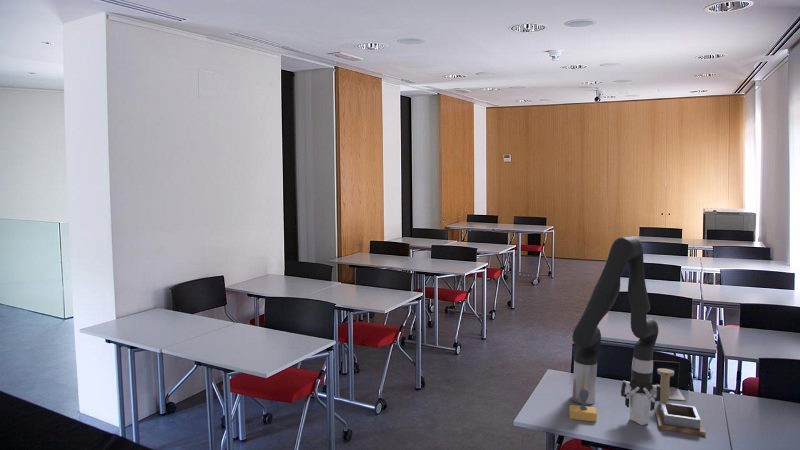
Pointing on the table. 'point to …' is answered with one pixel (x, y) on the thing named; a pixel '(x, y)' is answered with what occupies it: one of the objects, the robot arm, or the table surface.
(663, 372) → the handle
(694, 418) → the socket board
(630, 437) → the table surface
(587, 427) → the table surface
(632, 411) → the skincare box
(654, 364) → the laptop
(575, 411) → the rubber stamp
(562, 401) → the table surface
